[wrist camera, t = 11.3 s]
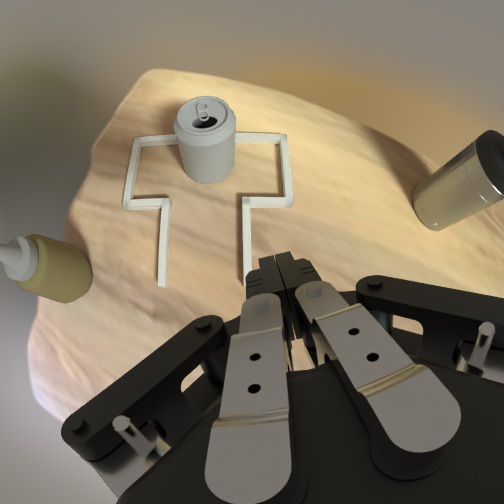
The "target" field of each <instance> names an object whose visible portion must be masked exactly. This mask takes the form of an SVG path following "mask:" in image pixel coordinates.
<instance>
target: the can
mask: <svg viewBox="0 0 504 504" xmlns="http://www.w3.org/2000/svg"><path fill="white" fill-rule="evenodd" d="M173 128H174V132H175V136H176V140H177V144H178V147H179V151H180V155H181V158H182V162H183V166H184V169H185V172H186V174H187V175H188V176H189V177H190V178H191V179H193V180H194V181H196V182H199V183H203V184H210V183H215V182H218V181H221V180H222V179H224V178H225V177H227V176H228V174H229V173H230V172H231V171H232V168H233V165H234V151H235V132H236V117H235V115H234V112H233V111H232V110H231V109H230V107H229V105H228V104H227V103H226V102H225V101H224V100H222V99H219V98H217V97H213V96H200V97H196V98H193V99H191V100H189V101H187V102H186V103H185V104H183V105H182V106H181V108H180V109H179V111H178V113H177V116H176V117H175V119H174V125H173Z"/></svg>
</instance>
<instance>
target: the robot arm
mask: <svg viewBox="0 0 504 504" xmlns="http://www.w3.org/2000/svg"><path fill="white" fill-rule="evenodd" d="M502 199H504V136H503V135H501V134H500V133H498V132H496V131H494V130H488V131H486V132H484V133H483V134H482V135H480V136H479V137H478V138H477V139H476V140H474V142H472V143H471V144H470V145H468V146H467V147H466V148H465V149H463V150H462V151H461V152H460V153H459V154H457V155H456V156H455V157H453V158H452V159H451V160H450V161H448V162H447V163H446V164H445V165H443V166H442V167H441V168H439V169H438V170H437V171H436V172H434V173H433V174H432V175H430V176H429V177H428V178H426V179H425V180H424V181H422V182H421V183H420V184H419V185H417V186H416V187H415V189H414V191H413V205H414V209H415V211H416V214H417V216H418V217H419V219H420V220H421V222H422V223H423V224H424V225H425V226H426V227H428V228H429V229H431V230H434V231H439V230H442V229H444V228H446V227H448V226H450V225H452V224H455V223H457V222H459V221H461V220H463V219H465V218H467V217H469V216H471V215H473V214H475V213H477V212H479V211H481V210H483V209H485V208H487V207H489V206H491V205H493V204H495V203H496V202H498V201H500V200H502ZM258 260H259V266H260V269H257V270H253V271H249V273H248V274H247V275H246V277H245V281H246V301H245V302H244V303H243V305H242V310H241V315H240V316H238V317H236V318H235V319H232V320H230V321H228V322H225V323H224V322H223V320H222V318H221V317H219V316H216V315H207V316H203V317H200V318H197V319H195V320H194V321H192V322H191V323H189V324H188V325H187V326H186V327H184V328H183V329H182V330H181V331H179V332H178V333H177V334H176V335H174V336H173V337H172V338H171V339H169V340H168V341H167V342H165V343H164V344H163V345H162V346H160V347H159V348H158V349H156V350H155V351H154V352H153V353H151V354H150V355H149V356H147V357H146V358H145V359H144V360H142V361H141V362H140V363H138V364H137V365H136V366H135V367H133V368H132V369H131V370H129V371H128V372H127V373H126V374H124V375H123V376H122V377H120V378H119V379H118V380H116V381H115V382H114V383H112V384H111V385H110V386H109V387H107V388H106V389H105V390H103V391H102V392H101V393H99V394H98V395H97V396H95V397H94V398H93V399H91V400H90V401H89V402H87V403H86V404H85V405H83V406H82V407H81V408H79V409H78V410H77V411H75V412H74V413H73V414H71V415H70V416H69V417H68V418H67V419H66V420H65V422H64V423H63V425H62V429H61V436H62V438H63V440H64V441H65V442H66V443H67V444H68V445H69V446H70V447H71V448H72V449H74V450H75V451H76V452H77V453H78V454H79V455H80V457H81V458H82V459H83V460H84V461H86V462H87V463H88V464H89V465H91V466H92V467H93V468H94V469H95V470H96V472H97V473H98V474H99V476H100V477H101V478H102V479H103V481H104V482H105V483H106V484H107V486H108V487H109V488H110V489H111V491H112V492H113V493H114V494H115V495H116V497H117V498H118V501H117V503H116V504H504V298H499V297H494V296H489V295H483V294H478V293H473V292H467V291H462V290H457V289H451V288H446V287H440V286H435V285H430V284H424V283H419V282H414V281H408V280H403V279H398V278H392V277H387V276H381V275H373V276H367V277H364V278H362V279H361V280H359V281H358V282H357V284H356V291H346V292H339V291H337V290H336V289H335V288H334V287H333V286H332V285H331V284H330V283H328V282H325V281H322V279H321V278H320V276H319V275H318V273H317V271H316V270H315V268H314V267H313V265H312V264H311V262H310V261H308V260H306V259H304V258H302V259H298V260H294V258H293V257H292V255H291V253H290V251H288V252H284V253H280V254H276V255H275V259H274V256H273V255H272V256H268V257H263V258H259V259H258ZM275 260H276V262H275ZM276 264H277V265H276ZM393 315H397V316H401V317H405V318H409V319H413V320H416V321H418V322H419V323H420V324H421V325H422V327H423V335H420V334H416V333H413V332H409V331H405V330H402V329H398V328H394V327H393ZM292 325H293V327H292ZM293 329H294V332H295V335H296V339H300V338H303V341H304V347H305V352H306V354H307V357H308V359H309V361H310V363H311V365H312V368H313V369H310V370H301V371H294V365H293V357H292V352H291V349H292V344H291V341H293V340H295V337H294V332H293ZM198 365H201V367H202V369H203V371H204V373H203V374H202V375H201V376H200V377H199V378H198V379H197V380H196V381H195V382H194V383H192V384H191V385H190V386H189V387H188V388H187V389H186V390H185V391H184V392H183V393H182V391H181V383H182V381H183V379H184V378H185V377H186V376H187V375H188V374H190V373H191V372H192V371H193V370H194V369H195V368H196V367H197V366H198Z"/></svg>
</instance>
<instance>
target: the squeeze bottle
mask: <svg viewBox="0 0 504 504" xmlns="http://www.w3.org/2000/svg"><path fill="white" fill-rule="evenodd" d="M0 261H1V262H2V263H3V264H4V268H5V271H6V274H7V275H8V276H9V278H10V279H14V280H15V281H16V283H17V284H18V285H19V287H20V288H21V289H22V290H25V291H28V292H30V293H33V294H36V295H39V296H42V297H45V298H48V299H51V300H54V301H57V302H61V303H69V302H73V301H75V300H76V299H78V298H80V297H81V296H83V295H84V294H85V293H86V292H88V290H89V288H90V286H91V284H92V278H93V274H92V268H91V266H90V265H89V263H88V261H87V260H86V258H85V256H84V254H83V253H82V251H81V250H79V249H78V248H77V247H75V246H74V245H70V244H67V243H64V242H60V241H57V240H53V239H50V238H47V237H44V236H40V235H35V234H31V235H29V236H27V237H22V236H17V237H15V238H13V239H12V240H11V242H10V243H9V244H0Z"/></svg>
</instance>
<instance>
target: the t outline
mask: <svg viewBox="0 0 504 504" xmlns="http://www.w3.org/2000/svg"><path fill="white" fill-rule="evenodd" d="M235 143H253V144H279V147H280V158H281V170H282V183H283V196H284V197H242V240H243V287H246V281H245V277H246V275H247V274H248V273H249V271H252V265H251V226H250V208H292V206H293V193H292V181H291V171H290V161H289V151H288V142H287V135H285V134H267V133H235ZM161 145H177V140H176V136H175V134H170V135H156V136H145V137H135V139H134V143H133V148H132V153H131V158H130V163H129V168H128V174H127V180H126V186H125V192H124V199H123V206H122V207H123V208H124V209H125V210H145V209H162V212H161V225H160V240H159V261H158V286H159V287H168V257H169V235H170V218H171V204H172V202H171V200H170V198H154V199H133V198H134V191H135V184H136V177H137V171H138V165H139V160H140V154H141V149H142V147H148V146H161Z"/></svg>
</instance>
